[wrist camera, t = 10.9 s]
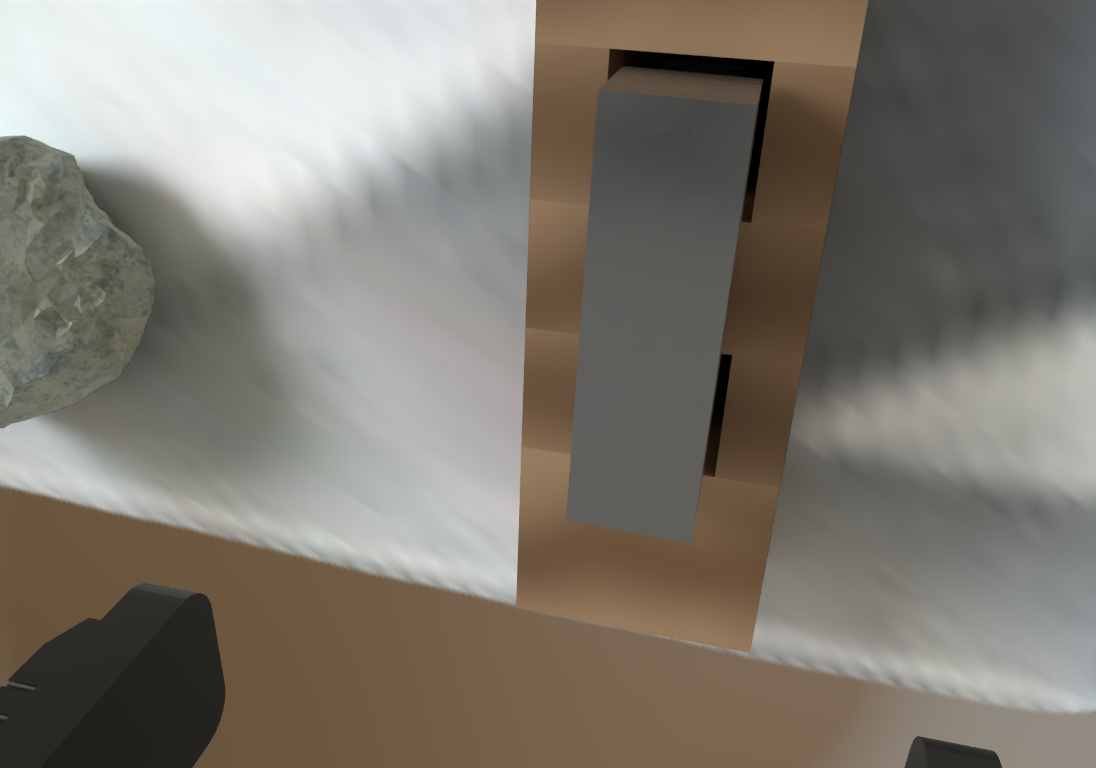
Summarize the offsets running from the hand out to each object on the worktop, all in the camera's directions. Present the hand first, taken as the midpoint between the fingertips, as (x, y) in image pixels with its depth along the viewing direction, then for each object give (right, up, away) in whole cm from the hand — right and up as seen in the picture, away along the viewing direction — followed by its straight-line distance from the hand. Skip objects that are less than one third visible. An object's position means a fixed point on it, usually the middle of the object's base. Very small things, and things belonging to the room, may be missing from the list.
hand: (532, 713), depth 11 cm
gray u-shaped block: (+4, +8, +16) cm, 19 cm away
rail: (+4, +8, +16) cm, 19 cm away
